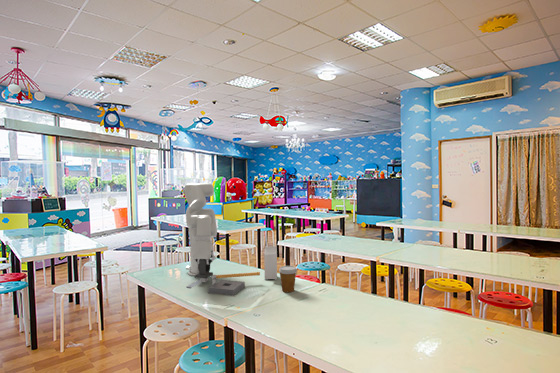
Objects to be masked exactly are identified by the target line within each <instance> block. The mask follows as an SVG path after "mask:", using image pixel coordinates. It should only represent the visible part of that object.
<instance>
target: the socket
mask: <svg viewBox="0 0 560 373" xmlns="http://www.w3.org/2000/svg"><path fill="white" fill-rule="evenodd" d="M211 279H212V278H211ZM245 284H246V283H245V281H240V280H230V279H229V280H228V279H220V280H218V281H217V278H216V279H212V283H211V285H210V286H208V289H207V293H208V294H213V295H214V294H215V295H223V296H224V295H226V296H235V295H236V294H237V293H238V292H240V291H241V290H243V289H244V288H245V287H246V285H245Z"/></svg>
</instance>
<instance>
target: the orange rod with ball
mask: <svg viewBox="0 0 560 373" xmlns="http://www.w3.org/2000/svg"><path fill="white" fill-rule="evenodd" d="M252 276H254V277H255V276H261V272H260V271H255V272H244V273H243V272H241V273H227V274H213V275H212V276H211V279H216V280H217V279H227V278H238V277H239V278H240V277H252Z"/></svg>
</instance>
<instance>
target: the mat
mask: <svg viewBox="0 0 560 373" xmlns="http://www.w3.org/2000/svg"><path fill="white" fill-rule="evenodd" d="M201 283H202V282H201V278H199V279H198V280H195V281H194V282H192V283H191V284H188V285H186V288H187V289H192V288H194V287H196V286H197V285H199V284H201Z"/></svg>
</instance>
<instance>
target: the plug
mask: <svg viewBox="0 0 560 373" xmlns="http://www.w3.org/2000/svg"><path fill="white" fill-rule="evenodd" d="M206 265H207V262H206V259H200V260H199V273H198V274H196V275H195V276H194V277H195V278H196V279H201V283H206V282H209V278H211V277H212V275H214V272H213V271H212V272H211V271H208V272H206Z"/></svg>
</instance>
